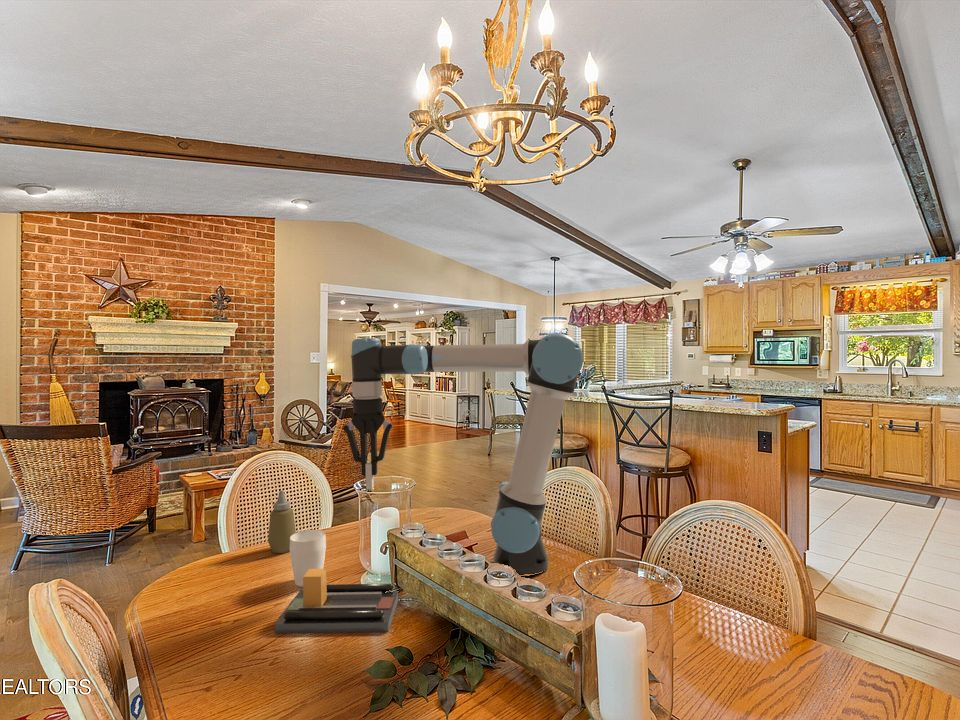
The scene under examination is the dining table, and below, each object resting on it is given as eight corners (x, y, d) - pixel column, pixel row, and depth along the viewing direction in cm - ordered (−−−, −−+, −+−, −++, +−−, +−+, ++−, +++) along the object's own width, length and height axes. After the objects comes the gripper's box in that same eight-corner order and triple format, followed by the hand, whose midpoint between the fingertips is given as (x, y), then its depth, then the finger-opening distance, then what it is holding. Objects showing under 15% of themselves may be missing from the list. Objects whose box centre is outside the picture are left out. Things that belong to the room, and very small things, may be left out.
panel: (399, 595, 121) (399, 580, 121) (388, 631, 105) (388, 614, 105) (301, 596, 121) (301, 581, 121) (275, 633, 105) (274, 616, 105)
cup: (332, 574, 133) (331, 529, 133) (318, 590, 124) (317, 542, 124) (300, 573, 134) (299, 529, 134) (283, 589, 125) (282, 541, 125)
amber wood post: (326, 598, 115) (326, 568, 115) (321, 607, 111) (320, 576, 111) (309, 599, 115) (309, 569, 115) (303, 607, 111) (302, 576, 111)
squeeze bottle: (302, 548, 151) (301, 489, 151) (279, 557, 144) (278, 496, 144) (285, 543, 156) (284, 486, 155) (262, 552, 149) (261, 492, 148)
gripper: (394, 395, 133) (397, 483, 134) (345, 397, 133) (348, 484, 133) (390, 398, 126) (393, 490, 126) (338, 399, 125) (341, 492, 126)
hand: (370, 487), depth 130 cm, fingers closed
